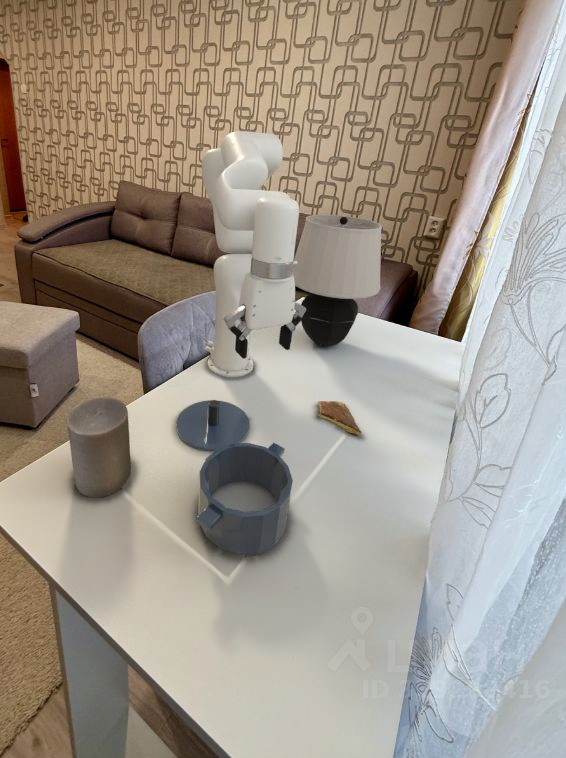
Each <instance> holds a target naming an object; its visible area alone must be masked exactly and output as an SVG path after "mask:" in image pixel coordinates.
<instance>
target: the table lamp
mask: <svg viewBox="0 0 566 758" xmlns="http://www.w3.org/2000/svg"><path fill="white" fill-rule="evenodd" d="M382 230H383V226H382V225H381V223H378V222H376V221H373V220H370V219H365V218H361V217H356V216H355V217H354V216H347V215H338V214H312V215H308V216H306V217H305V222H304V227H303V230H302V233H301V236H300V239H299V243H298V245H297V248H296V252H295V254H294V260H297V263H298V265H297V267H293V270H292V275H293V276H294V282H295V288H296V287H297V288H298V289H300V290H302V291H305V292H308V294H307V295H306V296H305V297H304V299H302V301H301V303H300V305H302V306H304V307H305V308H306V311H305V313H304V315H303V317H301V321H300V323H301V325H302V329H303V331H304V332H305V334H306V335H307V336H308V337H309V338H310V340H311V341H312V342H313V343H315V344H316V345H317V346H320V347H324V348H327V347H334V346H336V345H338V344H340V343H342V342H343V341H344V340H345V339H346V338H347V336H348V334H349V333H350V331H351V329H352V327H353V325H354V323H355V321H356V319H357V317H358V314H359V306H358V303H357V301H356V300H358V299H360V300H361V299H367V298H370V297H374V296H376V295H377V294H379V293H380V291H381V262H382V261H381V259H382V258H381V257H382V256H381V255H382Z"/></svg>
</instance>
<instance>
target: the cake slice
mask: <svg viewBox="0 0 566 758" xmlns="http://www.w3.org/2000/svg"><path fill="white" fill-rule="evenodd" d="M317 404H318V408H319V413H318V417H319V418H321V419H324V420H327V421H329V422H331V423H333V424H335V425H337V426H339V427H340V428H343V429H345V431H346V432H348V433H350V434H354V435H356V436H360V434H362V431H361V429H360V428H359V426H358V425H357V423H356V421H355V419H354V416H353V415H352V413H351V411H350V409H349V408H348V407H347V406H346V404H345V403H344V402H341V401H334V400H329V401H326V400H325V401H323V400H319V401H318V402H317Z"/></svg>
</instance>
